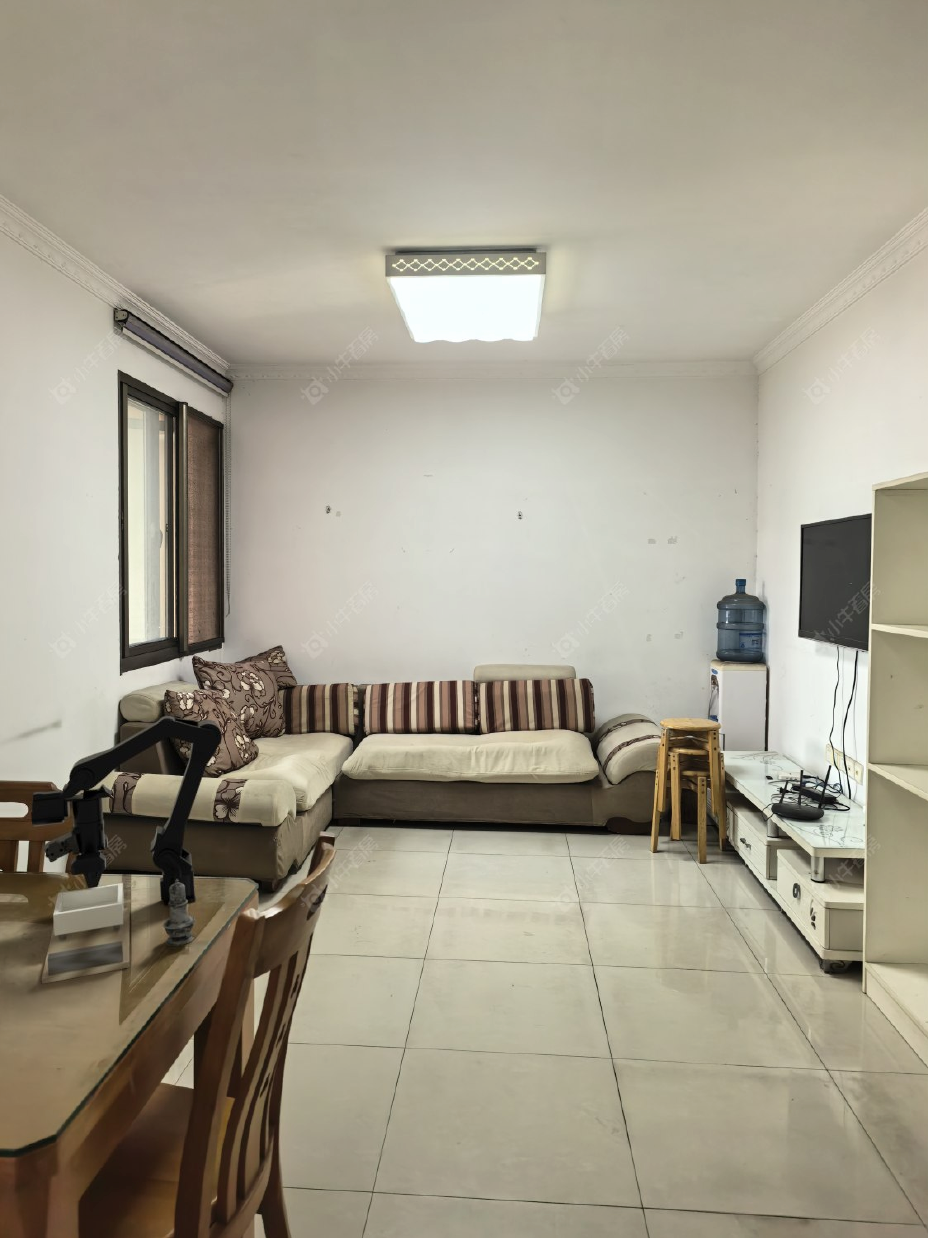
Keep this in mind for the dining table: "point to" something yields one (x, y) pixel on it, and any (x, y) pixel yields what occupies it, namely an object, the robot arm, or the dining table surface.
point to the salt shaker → (178, 917)
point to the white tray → (88, 909)
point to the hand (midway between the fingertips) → (92, 893)
